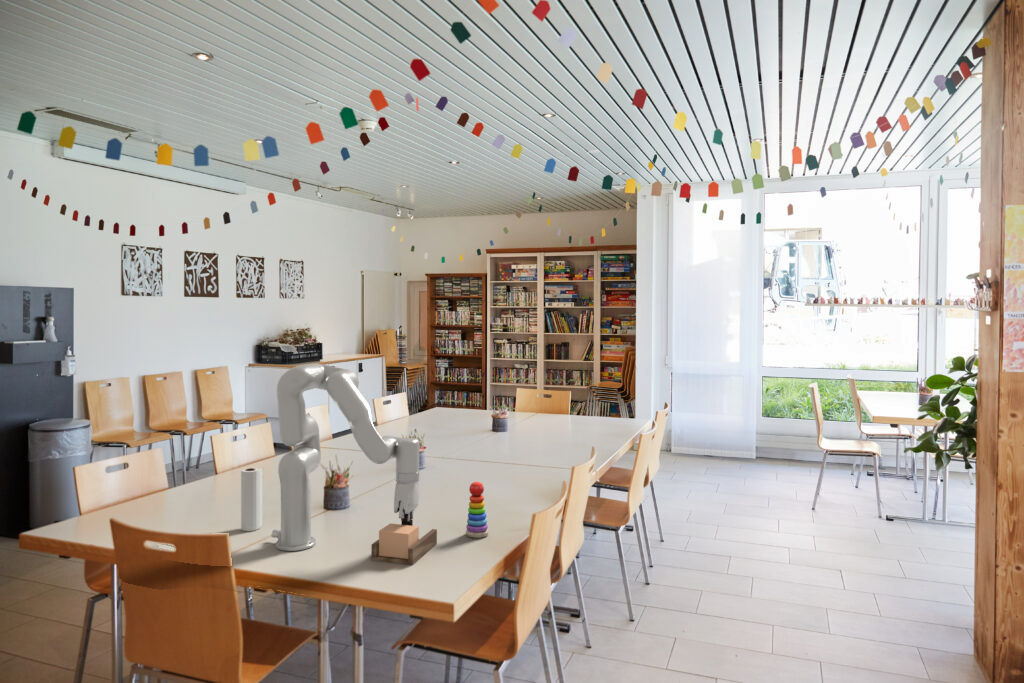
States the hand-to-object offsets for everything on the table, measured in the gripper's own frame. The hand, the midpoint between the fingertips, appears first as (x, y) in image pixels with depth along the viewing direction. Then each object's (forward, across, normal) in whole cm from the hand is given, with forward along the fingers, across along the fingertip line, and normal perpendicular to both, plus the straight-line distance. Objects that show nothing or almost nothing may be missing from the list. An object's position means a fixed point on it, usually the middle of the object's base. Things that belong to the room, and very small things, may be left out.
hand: (406, 532), depth 222 cm
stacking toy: (+6, -22, +17) cm, 28 cm away
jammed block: (+5, +6, 0) cm, 8 cm away
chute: (+6, +1, 0) cm, 6 cm away
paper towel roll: (+6, -4, -61) cm, 61 cm away
